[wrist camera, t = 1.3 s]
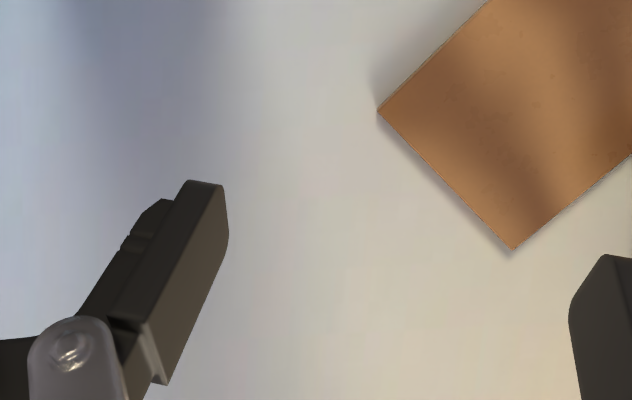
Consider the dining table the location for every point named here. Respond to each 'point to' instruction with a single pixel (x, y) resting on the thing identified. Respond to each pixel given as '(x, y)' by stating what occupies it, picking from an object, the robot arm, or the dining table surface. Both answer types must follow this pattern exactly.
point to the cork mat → (523, 107)
